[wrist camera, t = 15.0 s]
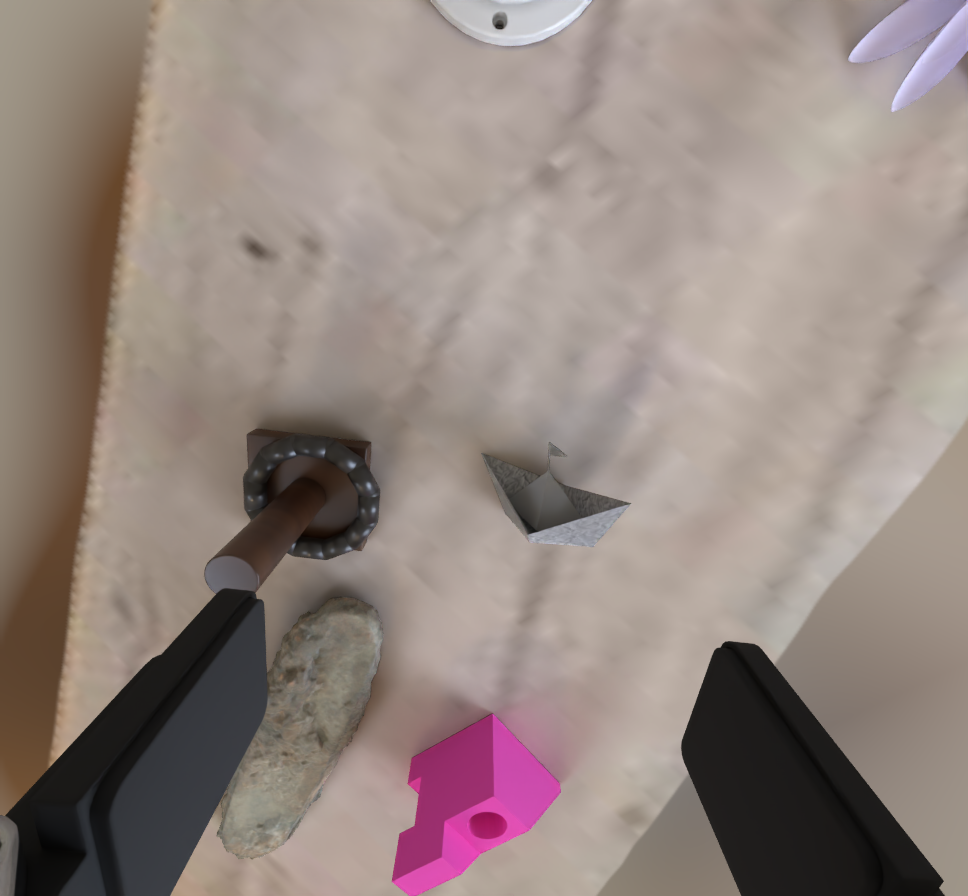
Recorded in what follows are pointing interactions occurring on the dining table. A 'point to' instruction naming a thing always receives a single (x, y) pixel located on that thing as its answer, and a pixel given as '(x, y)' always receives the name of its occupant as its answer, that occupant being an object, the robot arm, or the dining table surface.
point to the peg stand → (287, 514)
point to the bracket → (469, 803)
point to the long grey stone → (302, 724)
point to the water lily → (929, 6)
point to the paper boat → (552, 505)
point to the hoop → (338, 457)
